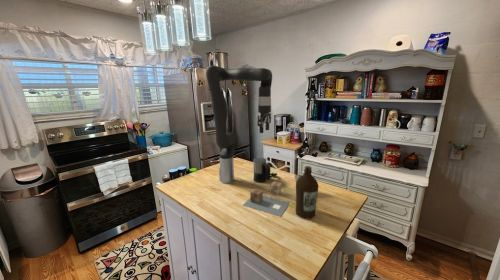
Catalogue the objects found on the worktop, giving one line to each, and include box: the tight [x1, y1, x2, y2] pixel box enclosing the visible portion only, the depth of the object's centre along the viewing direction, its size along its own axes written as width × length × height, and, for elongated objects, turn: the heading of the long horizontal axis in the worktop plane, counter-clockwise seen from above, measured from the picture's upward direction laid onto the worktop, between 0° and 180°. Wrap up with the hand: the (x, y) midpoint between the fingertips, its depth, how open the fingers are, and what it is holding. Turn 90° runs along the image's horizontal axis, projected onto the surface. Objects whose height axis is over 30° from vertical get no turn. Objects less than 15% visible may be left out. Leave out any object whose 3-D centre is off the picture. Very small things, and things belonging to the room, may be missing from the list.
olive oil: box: [295, 165, 319, 220], centre depth 102 cm, size 11×11×25 cm
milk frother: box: [252, 157, 278, 183], centre depth 144 cm, size 14×16×15 cm
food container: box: [294, 173, 316, 183], centre depth 126 cm, size 12×6×10 cm, turn 62°
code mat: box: [242, 195, 290, 217], centre depth 114 cm, size 22×14×1 cm, turn 62°
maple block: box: [270, 181, 282, 197], centre depth 125 cm, size 5×5×6 cm
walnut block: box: [249, 188, 264, 204], centre depth 116 cm, size 5×5×6 cm
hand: (264, 131), depth 126 cm, fingers open, 8 cm apart
